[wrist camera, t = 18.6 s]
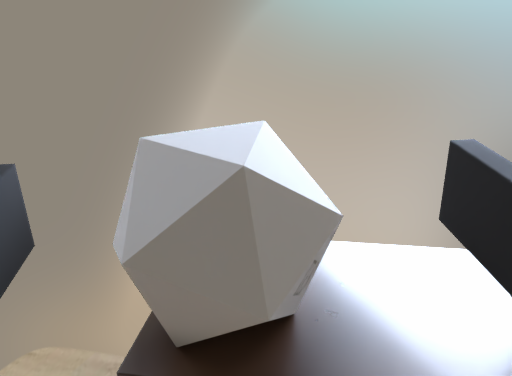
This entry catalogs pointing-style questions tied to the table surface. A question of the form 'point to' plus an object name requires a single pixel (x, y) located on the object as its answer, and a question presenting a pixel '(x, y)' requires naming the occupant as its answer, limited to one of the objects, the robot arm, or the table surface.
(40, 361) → the table surface
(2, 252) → the robot arm
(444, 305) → the shelf
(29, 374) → the table surface
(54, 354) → the table surface
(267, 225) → the die
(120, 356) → the table surface
